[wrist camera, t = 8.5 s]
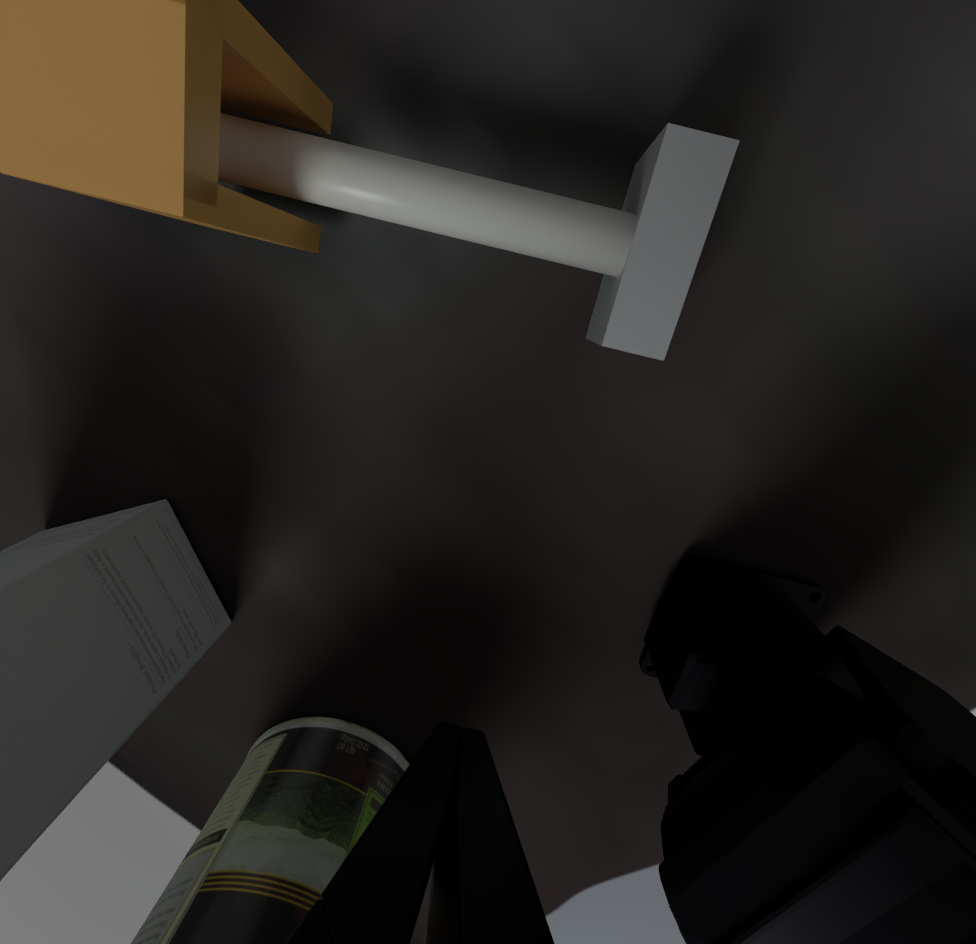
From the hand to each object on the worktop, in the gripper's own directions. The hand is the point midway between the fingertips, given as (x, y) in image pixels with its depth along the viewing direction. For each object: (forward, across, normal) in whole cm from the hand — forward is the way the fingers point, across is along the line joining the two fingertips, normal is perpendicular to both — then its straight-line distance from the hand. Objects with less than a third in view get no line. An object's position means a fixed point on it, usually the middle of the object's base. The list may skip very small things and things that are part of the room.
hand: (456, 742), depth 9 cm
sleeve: (+12, +10, -10) cm, 19 cm away
